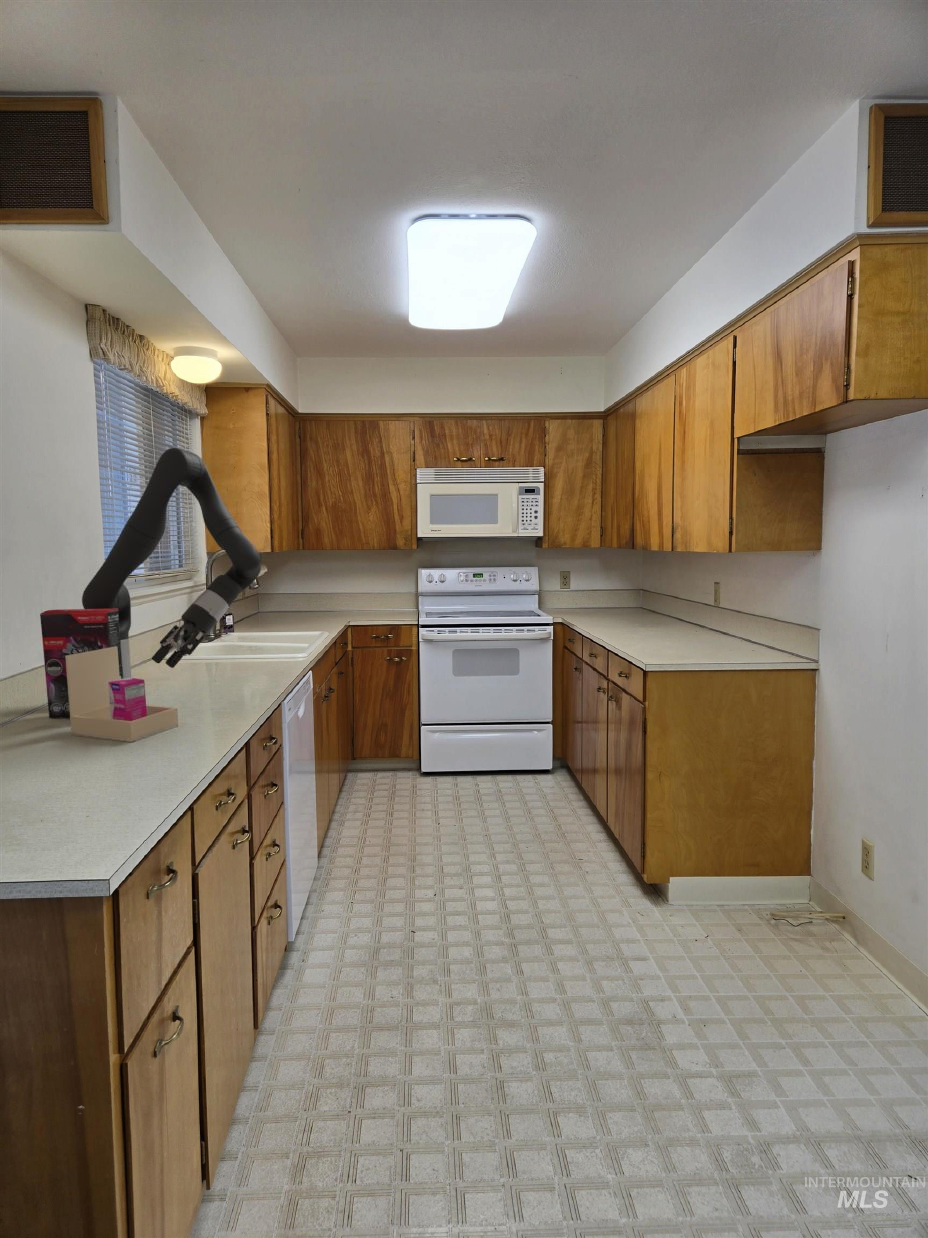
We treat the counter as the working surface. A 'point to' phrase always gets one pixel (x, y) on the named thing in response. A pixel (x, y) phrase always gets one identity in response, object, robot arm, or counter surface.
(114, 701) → the supplement box
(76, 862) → the counter surface
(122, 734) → the mailer box
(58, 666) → the graphics card box
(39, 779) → the counter surface
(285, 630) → the counter surface
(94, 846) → the counter surface
